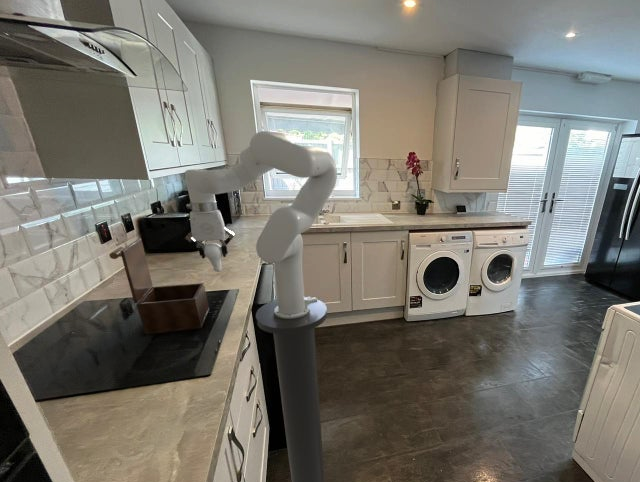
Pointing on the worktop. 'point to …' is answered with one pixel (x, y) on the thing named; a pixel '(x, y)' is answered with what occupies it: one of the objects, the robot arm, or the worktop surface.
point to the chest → (173, 308)
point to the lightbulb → (214, 255)
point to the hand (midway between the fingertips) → (214, 256)
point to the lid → (135, 268)
